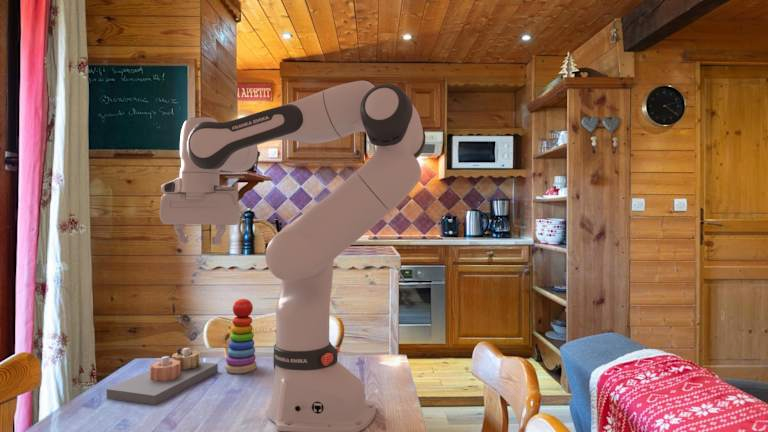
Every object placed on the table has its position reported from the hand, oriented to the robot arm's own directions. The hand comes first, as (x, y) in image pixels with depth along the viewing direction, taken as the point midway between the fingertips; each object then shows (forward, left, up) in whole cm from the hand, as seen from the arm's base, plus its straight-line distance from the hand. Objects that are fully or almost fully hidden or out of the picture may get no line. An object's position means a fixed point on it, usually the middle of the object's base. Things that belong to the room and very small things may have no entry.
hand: (199, 243), depth 110 cm
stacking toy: (-3, -13, -34) cm, 37 cm away
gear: (+8, -6, -32) cm, 34 cm away
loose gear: (+8, +1, -32) cm, 33 cm away
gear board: (+8, +1, -34) cm, 35 cm away
